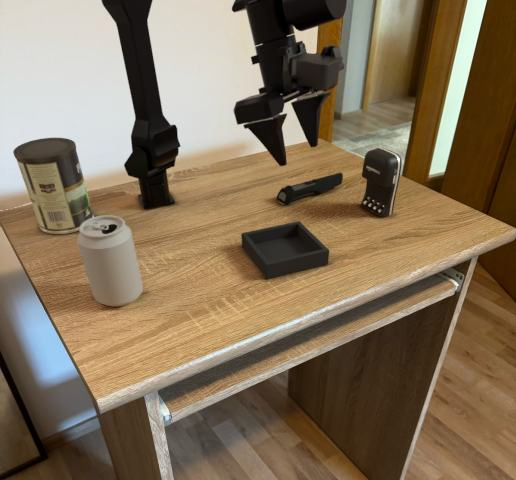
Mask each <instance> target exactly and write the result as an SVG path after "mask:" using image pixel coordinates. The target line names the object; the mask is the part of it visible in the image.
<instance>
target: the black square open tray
mask: <svg viewBox="0 0 516 480" xmlns="http://www.w3.org/2000/svg"><path fill="white" fill-rule="evenodd" d="M240 235H241V248H242V249H243V250H244V252H245V253H246V255H247V256H248V257H249V258H250V260H251V261H252V262H253V264H254V265H255V266H256V267H257V269H258V270H259V271H260V273H261V274H262V276H263V277H264V278H265V279H266V280H270V279H274V278H278V277H282V276H286V275H290V274H294V273H299V272H302V271H307V270H311V269H315V268H319V267H324V266H328V265H329V260H330V259H329V257H330V250H329V249H328V247H326V246H325V244H324V243H322V241H320V240H319V239H318V238H317V236H315V235H314V234H313V233H312V232H311V230H309V229H308V228H307V227H306V226H305V225H304V224H303V223H302V222H301V221H300V220H298V221H293V222H289V223H284V224H279V225H274V226H271V227H270V226H269V227H265V228H259V229H256V230H250V231H246V232H241V234H240Z"/></svg>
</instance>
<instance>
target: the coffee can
mask: <svg viewBox="0 0 516 480" xmlns="http://www.w3.org/2000/svg"><path fill="white" fill-rule="evenodd" d="M12 151H13V156H14V158H15V159H16V162H17V165H18V168H19V171H20V174H21V176H22V179H23V182H24V186H25V188H26V191H27V194H28V197H29V199H30V202H31V205H32V208H33V211H34V213H35V217H36V220H37V223H38V226H39V229H40V230H41V231H42V232H43V233H46V234H50V235H68V234H73V233H76V232H79V227H80V225H81V224H82V223H83V222H85V221H86V220H88V219H90V218H93V217H95V215H94V212H93V208H92V205H91V201H90V197H89V194H88V189H87V186H86V182H85V178H84V175H83V170H82V167H81V166H82V165H81V163H80V159H79V154H78V151H77V145H76V142H75V141H74V140H73V139H69V138H65V137H44V138H38V139H33V140H29V141H26V142H24V143H21V144H20V145H18V146H17V147H15V148H14V149H13V150H12Z"/></svg>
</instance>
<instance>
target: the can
mask: <svg viewBox="0 0 516 480" xmlns="http://www.w3.org/2000/svg"><path fill="white" fill-rule="evenodd" d="M78 232H79V234H78V235H77V236H76V242H77V246H78V249H79V252H80V255H81V259H82V262H83V265H84V269H85V272H86V276H87V280H88V282H89V283H88V284H89V286H90V289H91V293H92V296H93V298H94V299H95V302H98V303H100V304H102V305H105V306H107V307H113V308H114V307H115V308H117V307H123V306H127V305H130V304H131V303H133V302H135V301H136V300H137V299H138V297H140V295H141V294H142V293H143V291H144V286H143V285H144V284H143V282H142V281H143V280H142V275H141V271H140V266H139V261H138V256H137V251H136V247H135V242H134V237H133V233H132V229H131V228H130V227H129V226H128V225H127V224H126V221H125V220H124V219H123V218H122V217H120V216H118V215H111V214H106V215H105V214H103V215H97V216H94V217H93V218H90V219H88V220H86V221H85V222H83V223H82V224H81V225H80V227H79V231H78Z"/></svg>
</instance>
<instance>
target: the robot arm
mask: <svg viewBox="0 0 516 480" xmlns="http://www.w3.org/2000/svg"><path fill="white" fill-rule="evenodd" d="M153 1H154V0H101V3H102V6H103V8H105V10H106V11H107V14H109V16H110V17H111V18H112V20H113V21H114V23H115V25H116V29H117V33H118V34H117V35H118V38H119V44H120V48H121V53H122V58H123V59H122V60H123V63H124V68H125V73H126V78H127V83H128V88H129V92H130V98H131V103H132V107H133V112H134V117H135V119H134V122H133V126H132V130H131V133H130V143H131V151H132V152H131V153H130V155H129V156H128V157H127V159H126V161H125V162H124V164H123V167H124V169H125V171H126V174H127V176H129V177H131V178H135V179H137V181H138V186H139V191H140V194H137V198H138V201H139V203H140V204H141V207H142V208H143V210H150V209H154V208H159V207H164V206H169V205H170V206H171V205H174V204H176V200H175V198H174V196H173V195H172V194H171V192H170V187H169V179H168V173H167V170H168V169H171V168H174V167H175V166H176V159H177V157H178V156H179V152H180V151H179V150H180V149H179V148H181V143H180V141H179V136H178V135H179V134H178V127H177V125H176V124H171V123H170V122H169V120H168V119H167V118H166V116H165V115H164V112H163V107H162V101H161V95H160V89H159V83H158V77H157V72H156V64H155V58H154V53H153V47H152V41H151V36H150V29H149V24H148V23H149V21H148V19H149V16H150V13H151V12H150V11H151V8H152V4H153ZM347 4H348V0H234V1H233V4H232V6H231V11H232V12H233V13H239V12H243V11H246V15H247V20H248V24H249V28H250V33H251V38H252V41H253V45H254V49H255V53H256V54H255V55H252V56H250V59H251V60H250V61H251V65H252V66H254V65H257V64H258V66H259V71H260V76H261V80H262V83H263V84H262V85H263V86H262V87H259V88H258V93H257V94H254V95H250V96H247V97H245V98H243V99H241V100H238V101H236V102H235V104H234V107H233V110H232V112H233V114H234V117H235V122H236V125H237V126H239V125H243V128H244V129H247V130H249V131H250V132H251V133H252V134H253V136H255V138H256V139H257V140H258V141H260V144H262V146H263V147H264V148H265V150H267V151H268V153H269V154H270V155H271V158H273V159H274V161H275V162H276V163H277V165H279V166H280V167H285V166H287V164H288V163H287V162H288V161H287V152H286V151H287V150H286V146H285V145H286V144H285V138H284V132H283V125H284V123H285V121H286V119H287V116H288V113H283V112H284V108H285V104H286V103H289V102H290V105H291V108H292V110H293V112H294V114H295V116H296V119H297V120H298V123H299V126H300V127H301V130H302V132H303V134H304V137H305V139H306V141H307V143H308V145H309V146H310V148H316V147H318V145H319V135H320V133H319V132H320V122H321V115H322V108H323V105H324V104H325V102H326V100H328V98H329V97H330V96H331V94H332V91H330V90H332V89H333V88H334V89H335V87H336V86H338V83H339V75H340V72H341V71H342V70H344V69H345V64H344V62H343V56H342V53H341V49H340V46H339V45H335V44H334V45H333V44H328V45H326V46H324V47H323V48H322V50H321V52H315V53H310V52H307V47H306V44H305V43H304V42H303V41H304V40H299V41H297V38H296V34H295V30H297V31H298V32H304V31H308V30H311V29H313V28H317V27H320V26H323V25H326V24H329V23H333V22H335V21H339V20H341V19H342V18H343V17H344V15H345V13H346V10H347Z"/></svg>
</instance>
